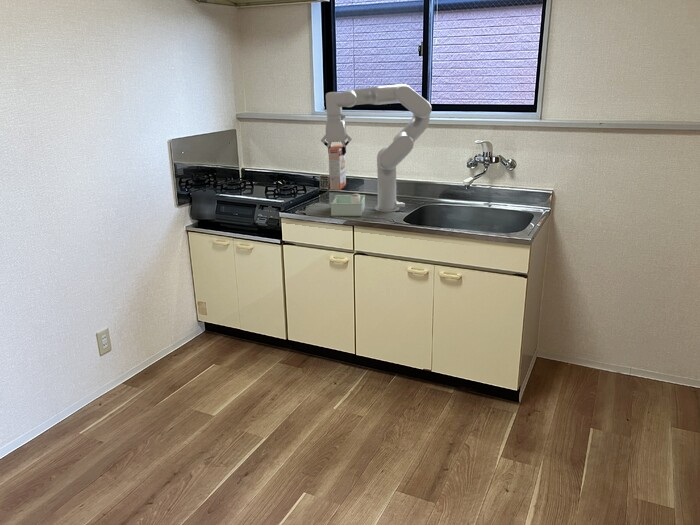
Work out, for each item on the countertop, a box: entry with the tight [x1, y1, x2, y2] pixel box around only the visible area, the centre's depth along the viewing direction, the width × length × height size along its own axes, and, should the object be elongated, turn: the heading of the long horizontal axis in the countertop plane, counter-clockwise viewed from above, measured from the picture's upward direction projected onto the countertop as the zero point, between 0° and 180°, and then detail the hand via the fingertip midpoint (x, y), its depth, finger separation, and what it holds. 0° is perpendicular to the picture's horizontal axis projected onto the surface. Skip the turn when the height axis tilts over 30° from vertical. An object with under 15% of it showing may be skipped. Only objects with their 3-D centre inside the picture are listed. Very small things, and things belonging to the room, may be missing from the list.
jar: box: [351, 193, 361, 203], centre depth 289 cm, size 4×4×9 cm
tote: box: [329, 194, 366, 217], centre depth 290 cm, size 16×18×7 cm
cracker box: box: [327, 144, 347, 191], centre depth 286 cm, size 14×6×21 cm, turn 168°
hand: (337, 154), depth 284 cm, fingers closed on cracker box, 6 cm apart
